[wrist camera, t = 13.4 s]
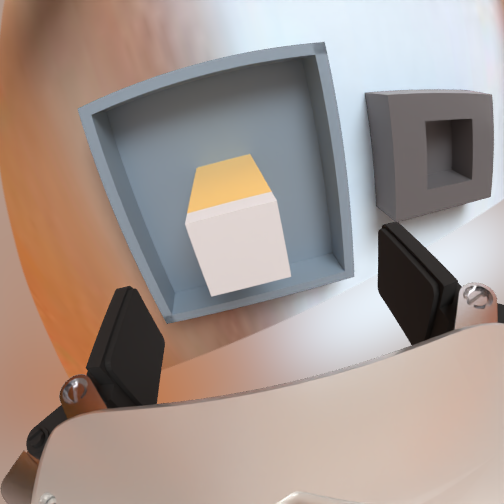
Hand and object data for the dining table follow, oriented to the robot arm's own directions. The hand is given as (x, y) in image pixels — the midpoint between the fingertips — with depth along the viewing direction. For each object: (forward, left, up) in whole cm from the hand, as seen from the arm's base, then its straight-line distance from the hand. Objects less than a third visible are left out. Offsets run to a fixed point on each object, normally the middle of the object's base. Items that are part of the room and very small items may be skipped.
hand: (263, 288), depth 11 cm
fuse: (+1, 0, -13) cm, 13 cm away
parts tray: (+1, 0, -14) cm, 14 cm away
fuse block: (-17, 0, -14) cm, 22 cm away
